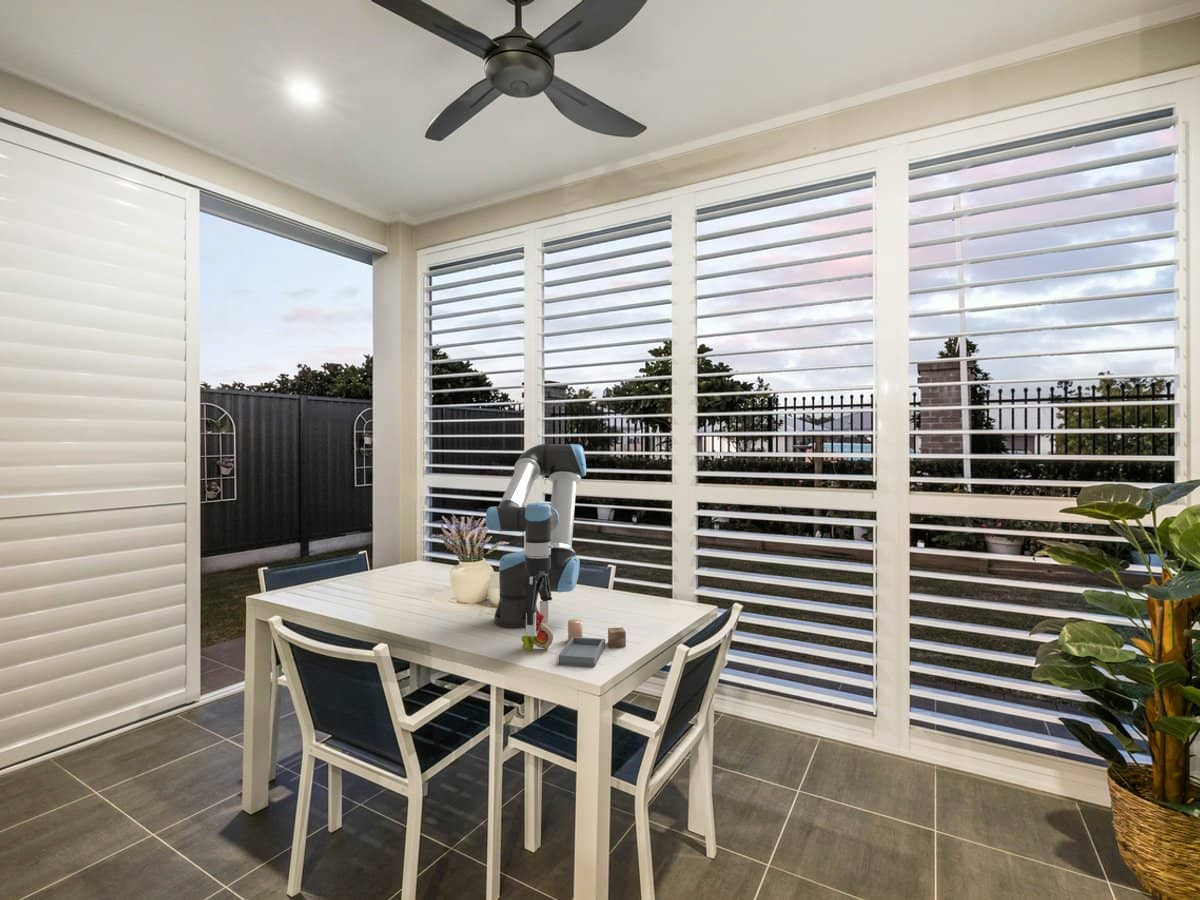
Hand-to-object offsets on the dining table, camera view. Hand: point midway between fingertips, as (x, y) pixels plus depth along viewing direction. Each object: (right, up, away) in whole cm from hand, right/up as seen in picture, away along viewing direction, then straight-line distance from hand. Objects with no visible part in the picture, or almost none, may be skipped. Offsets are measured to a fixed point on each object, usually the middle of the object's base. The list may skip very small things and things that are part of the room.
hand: (537, 629), depth 173 cm
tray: (+13, -6, -5) cm, 15 cm away
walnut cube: (+23, -6, +4) cm, 24 cm away
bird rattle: (0, -6, +1) cm, 6 cm away
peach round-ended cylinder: (+11, -6, +8) cm, 14 cm away
